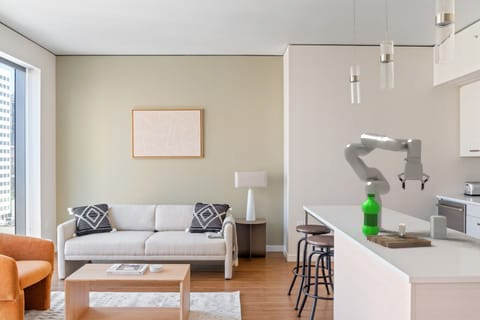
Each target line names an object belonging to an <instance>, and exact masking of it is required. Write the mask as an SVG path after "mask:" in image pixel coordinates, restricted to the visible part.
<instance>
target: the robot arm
mask: <svg viewBox="0 0 480 320" xmlns="http://www.w3.org/2000/svg"><path fill="white" fill-rule="evenodd" d="M359 139H360V140H359V141H360V143H359V142H358V143H357V142H356V143H355V142H353V143H349V144H347V145H346V146H345V148H344V158H345V161H346V162H347V163H348V165H349V166H350V167H351V169H352V170H353V172H354V173H355V175H356V176H357V177H358V179H359V180H360V181H361V182H363V183H365V186H364V193H365V202H366V201H367V200H368V197H367V194H369V193H370V194H375V197H374V200H375V201H376V202H377V203H378V204H379V206H380V212H379V213H378V222H377V226H378V228H379V233H381V232H384V231H385V228H384V227H382V223H383V222H382V218H383V217H382V215H383V214H382V213H383V210H382V209H383V205H382V204H383V203H382V198H381V196H383V195H388V194H389V192H390V190H391V185H390V183H389V181H388V180H387V179H386V177H385V176H384V174H382V172H381V170H379V169H378V168H376V167H369V166H367V164H366V163H365V161H364V160H363V159H361V157H364V156H365V157H366V156H367V155H369V154H370V153H372V152H373V151H374V150H376V149H380V150H385V151H391V152H397V153H398V152H400V153H402V152H403V153H405V152H406V158H405V157H404V158H403V159H404V160H403V161H405V163H404V169H403V172H401V173H399V174H397V175H396V176H397V179H398V180H399V181H400V182H401V185H402V186H401V188H402V189H403V190H406V181H420V182H421V185H420V186H421V187H420V188H421V191H423V190H425V184H426V183H427V182H428V181H429V179H430V178H431V176H430V175H428V174H426V173H424V166H423V165H424V164H423V163H422V140H421V139H416V138H412V139H407V138H393V137H387V136H386V135H384V134H378V133H371V132H370V133H369V132H367V133H363V134H362V135H361V136H360V138H359ZM401 176H403V179H402V177H401ZM424 177H426V178H425V179H424Z"/></svg>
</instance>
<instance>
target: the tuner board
mask: <svg viewBox="0 0 480 320" xmlns="http://www.w3.org/2000/svg"><path fill="white" fill-rule="evenodd" d="M366 240H367V241H368V240H369V242H371V241H372V243H374V244H376V243H377V244H376V245H379V244H380V245H379V246H382V245H383V246H382V247H385V248H387V247H388V249H390V247H395V248H409V247H410V248H411V247H413V248H414V247H430V246H432V241H431V240H429V239H426V238H423V237H418V236H416V235H412V234H409V233H405V235H404V237H400V234H399V233H393V234H377V235H367V236H366Z"/></svg>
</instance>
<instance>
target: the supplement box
mask: <svg viewBox="0 0 480 320" xmlns="http://www.w3.org/2000/svg"><path fill="white" fill-rule="evenodd" d="M429 217H430V220H429V225H430V226H429V236H430V238H432V239H436V240H447V238H448V236H447V232H448V231H447V230H448V227H447V226H448V224H447V223H448V217H446V216H444V215H430V216H429Z"/></svg>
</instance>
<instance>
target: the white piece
mask: <svg viewBox="0 0 480 320" xmlns="http://www.w3.org/2000/svg"><path fill="white" fill-rule="evenodd" d="M398 234H400V237H404V235H405V234H406V223H402V222H399V224H398Z"/></svg>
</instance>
